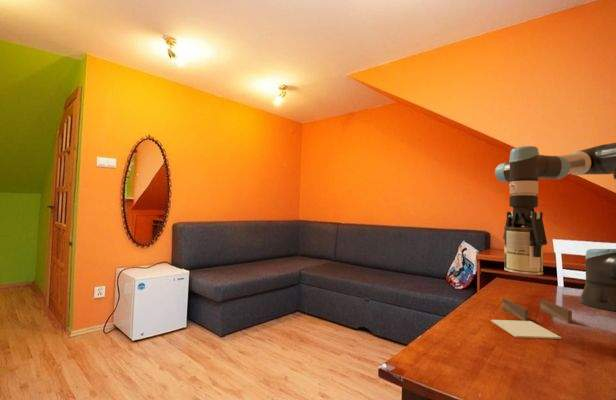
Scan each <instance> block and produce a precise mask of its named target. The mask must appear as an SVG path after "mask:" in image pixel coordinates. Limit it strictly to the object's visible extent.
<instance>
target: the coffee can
mask: <svg viewBox="0 0 616 400" xmlns="http://www.w3.org/2000/svg"><path fill="white" fill-rule="evenodd" d="M503 229H504V231H503V236H504V239H503V240H504V243H503V244H504V248H503V249H504V254H503V255H504V261H503V262H504V269H503V270H504V271H506V272H509V273H514V274H519V275H520V274H521V275H532V276H537V275H539V276H541V275H544V272H543V271H544V268H543V267H544V245H542V246H541V257H540V268H530V267H529V246H530V244H531V242H530V232H533V233H534V231H533V228H525V226H522V227H521V228H518V227H505V226H504V227H503ZM541 241H542V240H541ZM535 242H536V241H535Z"/></svg>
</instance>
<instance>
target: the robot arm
mask: <svg viewBox="0 0 616 400" xmlns="http://www.w3.org/2000/svg"><path fill="white" fill-rule="evenodd" d="M494 174H495V178H496V181H498V182H501V183H509V194H510V196H509V200H508V201H509V204H508V205H509V207H511V208H513V209H512V211H506V220H505V226H504V227H518V228H521V227H525V228H533V231H534V233H533V232H530V242H531V244H530V246H529V267H530V268H540V257H541V246H542V245H543V246H547V245H548V241H547V236H546V231H545V225H544V221H543V215H544V214H543V213H544V212H542V211H535V208H538V207H539V196H538V194H539V180H548V179H549V180H560V179H563V178H564V177H566V176H567V175H570V174H571V175H573V176H582V175H613V180H615V181H616V142H612V143H607V144H606V143H605V144H600V145H596V146H593V147H589V148H586V149H581V150H575V151H572V152H570V153H568V154H564V155H561V154H560V155H547V154H546V155H545V154H540V152H539V148H538V147H537V146H534V145H525V146H517V147H513V148H512V149H511V150H510V153H509V160H508V161H507V162H503V163H500V164H497V166H496V168H495V169H494ZM502 238H503V240H504V235H503V236H502ZM541 240H542V241H541ZM535 241H536V242H535ZM584 260H585V285H584V287H583V290H582V292H581V295H580V297H579V299H580V300H579V301H580V302H581V304H584V305H586V306H589V307H592V308H596V309H600V310H606V311H614V312H616V248H589V249H587V250H586V252H585V258H584Z"/></svg>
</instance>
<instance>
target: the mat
mask: <svg viewBox="0 0 616 400" xmlns="http://www.w3.org/2000/svg"><path fill="white" fill-rule="evenodd" d="M490 322H492V323H493V324H495V325H496V326H498V327H499V328H501V329H502V330H504V331H506V332H507V333H509V334H510V335H512V337H515V338H523V339H524V338H525V339H527V338H529V339H551V340H552V339H553V340H562V336H560V335H558V334H556V333H554V332H552V331H550V330H549V329H547V328H545V327H542V326H541V325H538V324H537V323H535V322H534V321H531V320H529V321H523V320H514V319H513V320H512V319H510V320H508V319H491V320H490Z"/></svg>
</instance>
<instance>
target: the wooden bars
mask: <svg viewBox="0 0 616 400" xmlns="http://www.w3.org/2000/svg"><path fill="white" fill-rule="evenodd" d="M539 303H540V304H539V305H540V307H539V309H540V311H541V312H543V313H546V314H547V315H551V316H552V317H554V318H557V319H559V320H561V321H563V322H565V323H568V324H572V323H573V312H572V310H571V309H567V308H565V307H563V306H560V305H558V304H556V303H553V302H551V301H548V300H546V299H540V301H539ZM501 310H504V311H505V312H507V313H509V314H511V315H513V316H515V317H516V318H518V319H520V320H521V321H530V319H529V315H530V313H529V312H530V311H529V309H528V308H526V307H524V306H522V305H519V304H518V303H516V302H514V301H512V300H509V299H508V298H503V297H502V298H501Z"/></svg>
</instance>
